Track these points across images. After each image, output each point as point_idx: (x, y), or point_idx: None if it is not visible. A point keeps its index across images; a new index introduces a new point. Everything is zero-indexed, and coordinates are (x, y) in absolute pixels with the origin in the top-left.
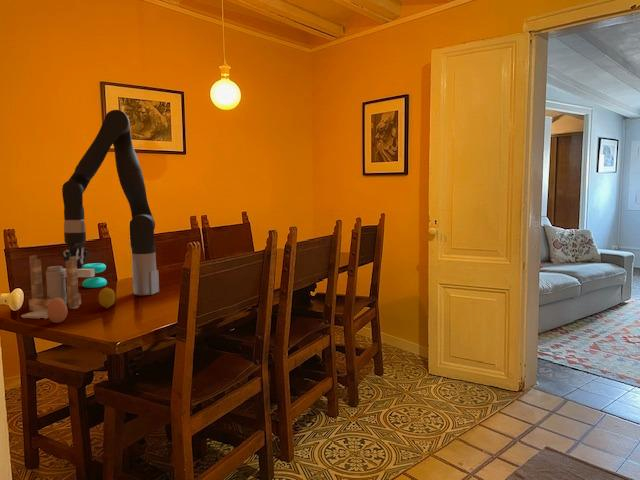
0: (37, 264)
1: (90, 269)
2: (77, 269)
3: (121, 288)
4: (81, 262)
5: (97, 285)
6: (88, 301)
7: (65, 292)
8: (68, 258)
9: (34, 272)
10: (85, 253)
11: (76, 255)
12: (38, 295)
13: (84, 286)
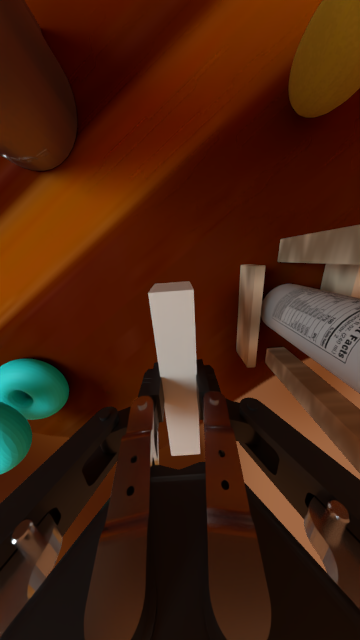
0: None
1: (181, 296)
2: (188, 376)
3: (17, 286)
4: (150, 406)
5: (47, 365)
6: (208, 264)
7: (305, 292)
8: (318, 455)
9: None
10: (54, 491)
11: (235, 470)
12: (304, 365)
13: (68, 394)
